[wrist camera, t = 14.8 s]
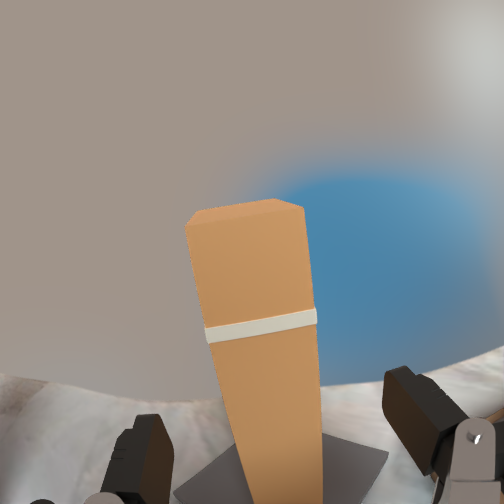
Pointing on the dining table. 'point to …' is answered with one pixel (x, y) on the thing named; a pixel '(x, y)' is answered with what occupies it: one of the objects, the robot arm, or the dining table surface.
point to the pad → (334, 476)
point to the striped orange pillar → (263, 341)
